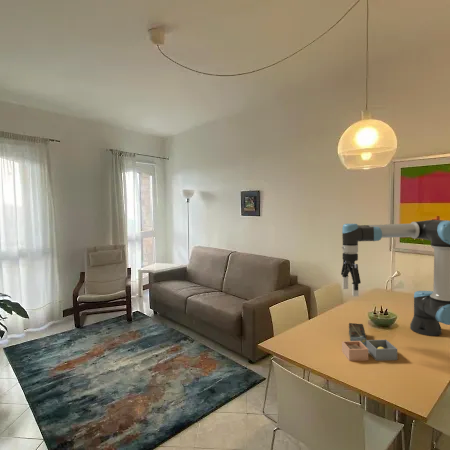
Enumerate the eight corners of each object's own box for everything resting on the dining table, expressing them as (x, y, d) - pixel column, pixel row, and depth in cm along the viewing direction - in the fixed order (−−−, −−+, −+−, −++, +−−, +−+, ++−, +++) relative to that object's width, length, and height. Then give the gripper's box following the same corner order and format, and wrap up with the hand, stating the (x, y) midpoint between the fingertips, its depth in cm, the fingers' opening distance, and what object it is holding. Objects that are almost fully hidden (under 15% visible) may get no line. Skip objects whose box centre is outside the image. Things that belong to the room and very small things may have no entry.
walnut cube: (355, 353, 151) (355, 344, 150) (361, 357, 146) (361, 348, 146) (347, 354, 150) (347, 345, 149) (353, 358, 145) (353, 349, 145)
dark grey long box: (350, 347, 158) (350, 335, 158) (348, 332, 176) (348, 321, 176) (367, 349, 156) (367, 337, 155) (363, 334, 174) (363, 323, 173)
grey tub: (386, 351, 153) (386, 339, 153) (397, 361, 143) (397, 348, 143) (366, 351, 153) (366, 340, 153) (376, 361, 143) (376, 349, 143)
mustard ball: (383, 353, 150) (383, 345, 150) (387, 357, 146) (387, 349, 146) (375, 353, 150) (375, 345, 150) (379, 357, 146) (379, 349, 146)
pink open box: (359, 352, 152) (359, 340, 152) (368, 361, 144) (368, 349, 143) (342, 352, 153) (341, 341, 152) (349, 362, 144) (349, 349, 143)
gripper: (334, 249, 172) (335, 286, 173) (352, 257, 147) (352, 299, 149) (348, 249, 172) (348, 285, 173) (367, 256, 147) (367, 299, 148)
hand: (350, 292), depth 161 cm, fingers open, 13 cm apart
